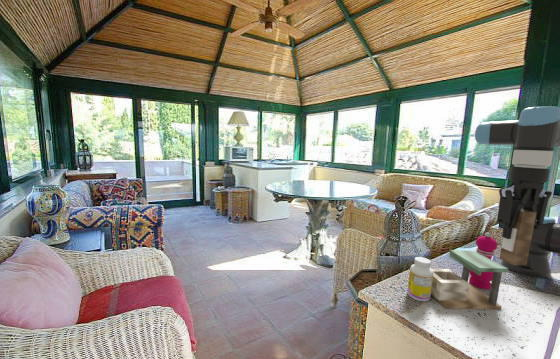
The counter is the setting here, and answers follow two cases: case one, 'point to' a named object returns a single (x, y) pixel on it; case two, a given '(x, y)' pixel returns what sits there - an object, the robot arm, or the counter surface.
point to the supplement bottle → (420, 279)
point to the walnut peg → (521, 239)
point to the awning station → (458, 290)
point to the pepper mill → (486, 249)
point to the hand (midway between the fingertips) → (514, 249)
